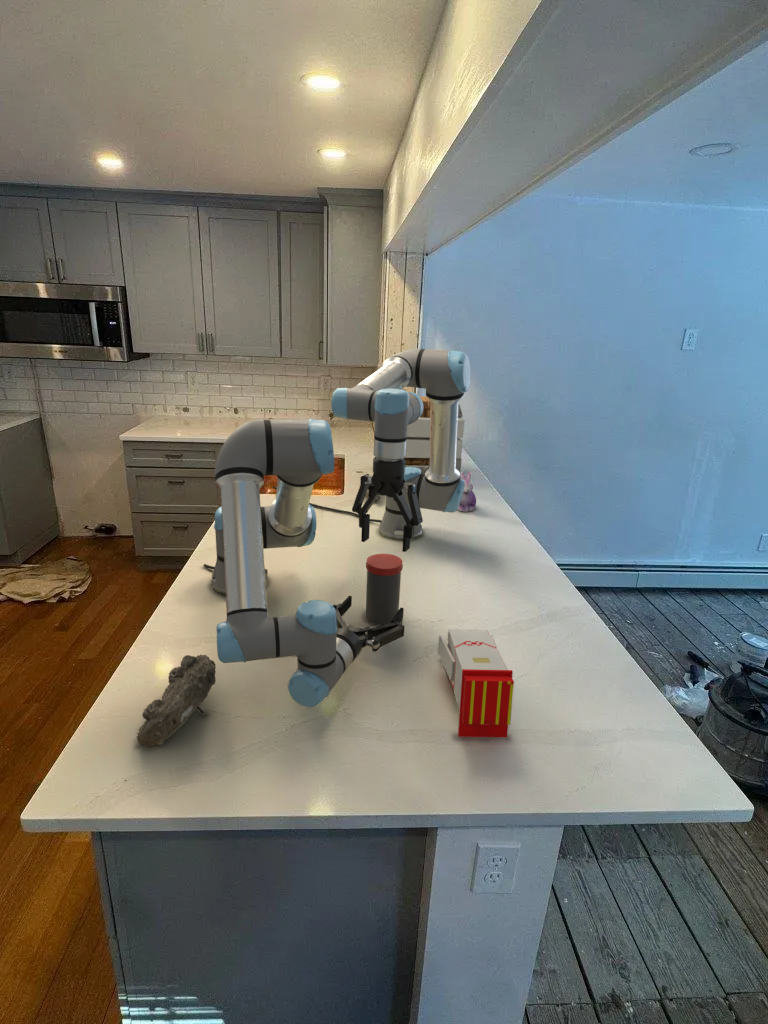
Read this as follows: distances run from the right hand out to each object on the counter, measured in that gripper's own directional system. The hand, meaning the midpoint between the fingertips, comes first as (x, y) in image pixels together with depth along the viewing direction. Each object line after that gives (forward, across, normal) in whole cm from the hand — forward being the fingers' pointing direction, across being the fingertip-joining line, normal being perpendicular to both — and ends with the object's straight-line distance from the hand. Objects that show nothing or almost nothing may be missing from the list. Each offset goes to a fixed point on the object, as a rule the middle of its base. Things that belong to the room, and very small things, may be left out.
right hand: (385, 544), depth 139 cm
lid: (+5, 0, 0) cm, 5 cm away
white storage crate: (+20, +46, -130) cm, 140 cm away
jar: (+20, 0, 0) cm, 20 cm away
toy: (+20, -30, +18) cm, 40 cm away
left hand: (+14, -1, +6) cm, 15 cm away
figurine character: (+20, +47, -84) cm, 98 cm away
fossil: (+20, +16, +52) cm, 58 cm away
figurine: (+20, +10, -93) cm, 96 cm away
